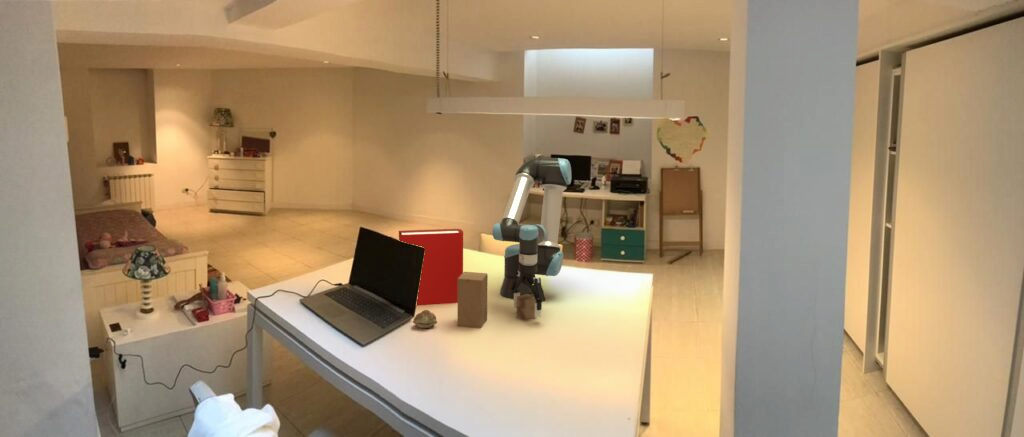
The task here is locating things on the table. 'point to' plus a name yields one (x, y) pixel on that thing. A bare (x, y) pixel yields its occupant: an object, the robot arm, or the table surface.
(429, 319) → the seashell
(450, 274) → the book
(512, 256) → the robot arm
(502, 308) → the table surface
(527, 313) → the walnut block
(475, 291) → the wooden block
